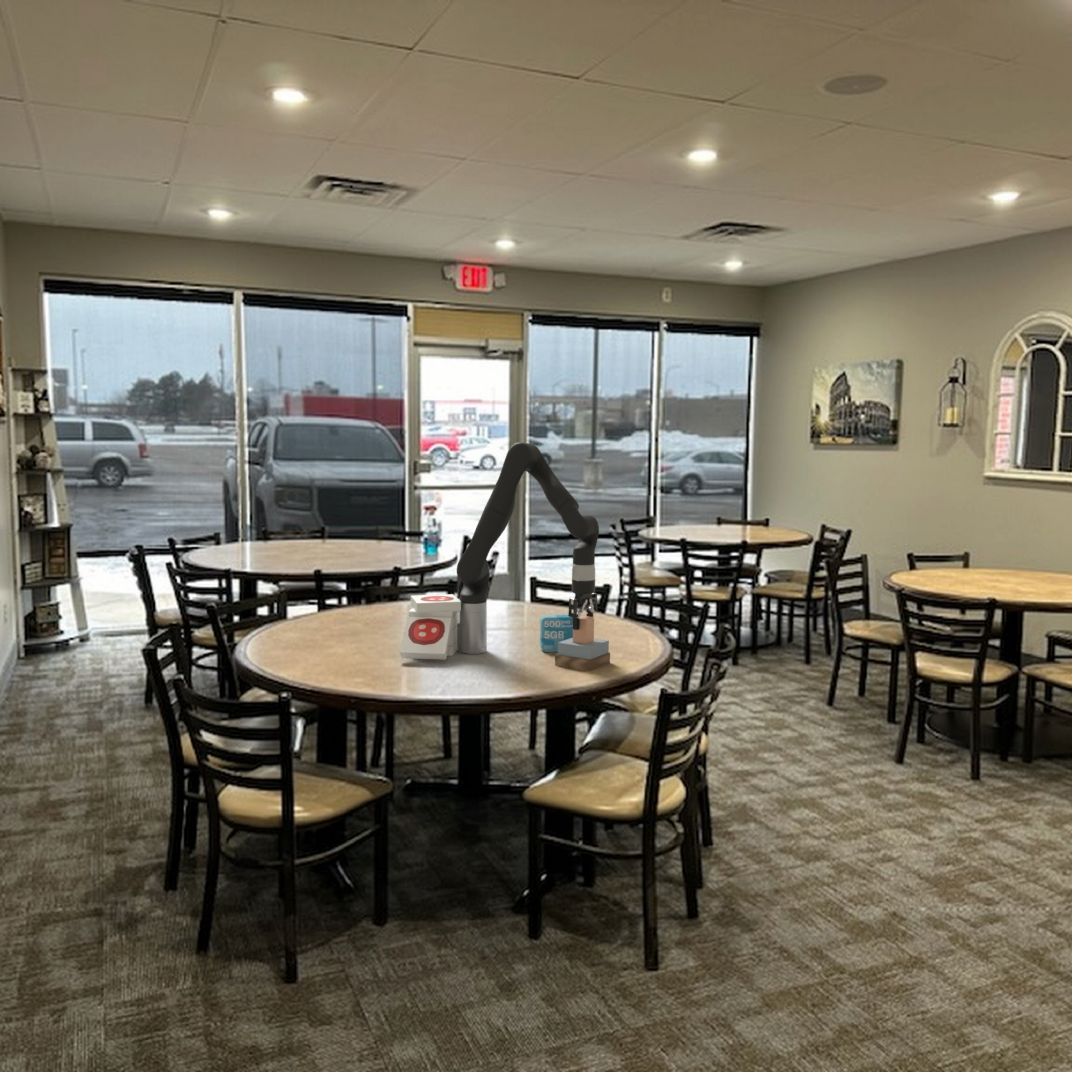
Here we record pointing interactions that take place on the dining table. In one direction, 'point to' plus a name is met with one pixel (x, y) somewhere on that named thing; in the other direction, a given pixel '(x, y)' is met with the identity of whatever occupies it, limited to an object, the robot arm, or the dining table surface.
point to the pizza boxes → (431, 627)
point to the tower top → (583, 648)
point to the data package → (554, 631)
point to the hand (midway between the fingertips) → (582, 627)
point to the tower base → (582, 662)
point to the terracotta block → (584, 630)
